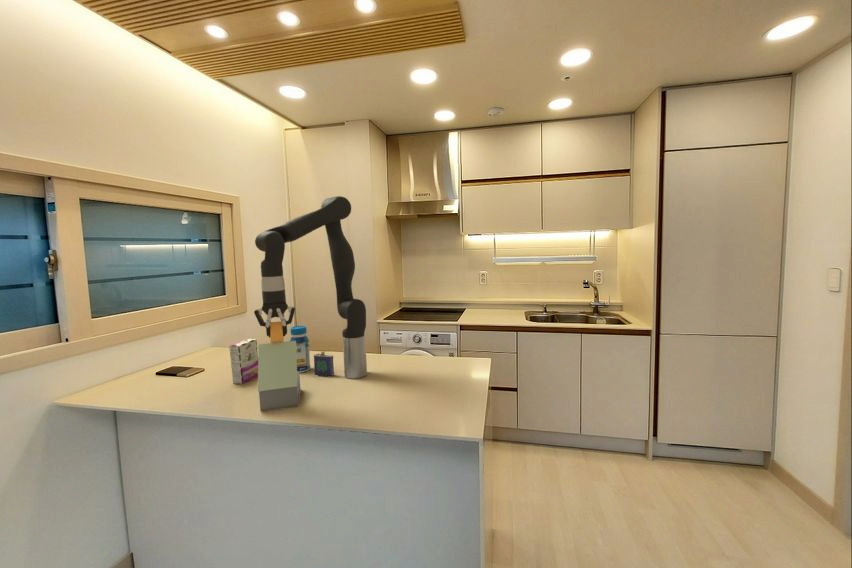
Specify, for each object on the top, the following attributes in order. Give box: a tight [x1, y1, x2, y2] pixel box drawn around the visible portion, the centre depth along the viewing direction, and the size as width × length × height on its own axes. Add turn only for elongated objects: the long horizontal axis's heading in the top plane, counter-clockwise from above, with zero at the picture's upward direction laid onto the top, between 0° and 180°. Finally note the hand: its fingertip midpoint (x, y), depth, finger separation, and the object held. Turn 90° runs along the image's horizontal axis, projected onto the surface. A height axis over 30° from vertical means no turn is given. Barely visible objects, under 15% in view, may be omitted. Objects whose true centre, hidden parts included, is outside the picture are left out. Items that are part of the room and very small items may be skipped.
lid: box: [257, 320, 297, 393], centre depth 125 cm, size 12×23×4 cm
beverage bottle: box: [289, 325, 311, 374], centre depth 162 cm, size 8×8×20 cm
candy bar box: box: [229, 338, 258, 385], centre depth 153 cm, size 11×5×16 cm, turn 168°
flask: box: [313, 350, 335, 377], centre depth 155 cm, size 9×3×11 cm, turn 74°
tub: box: [258, 372, 301, 412], centre depth 130 cm, size 12×16×7 cm
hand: (277, 336), depth 128 cm, fingers closed on lid, 4 cm apart
